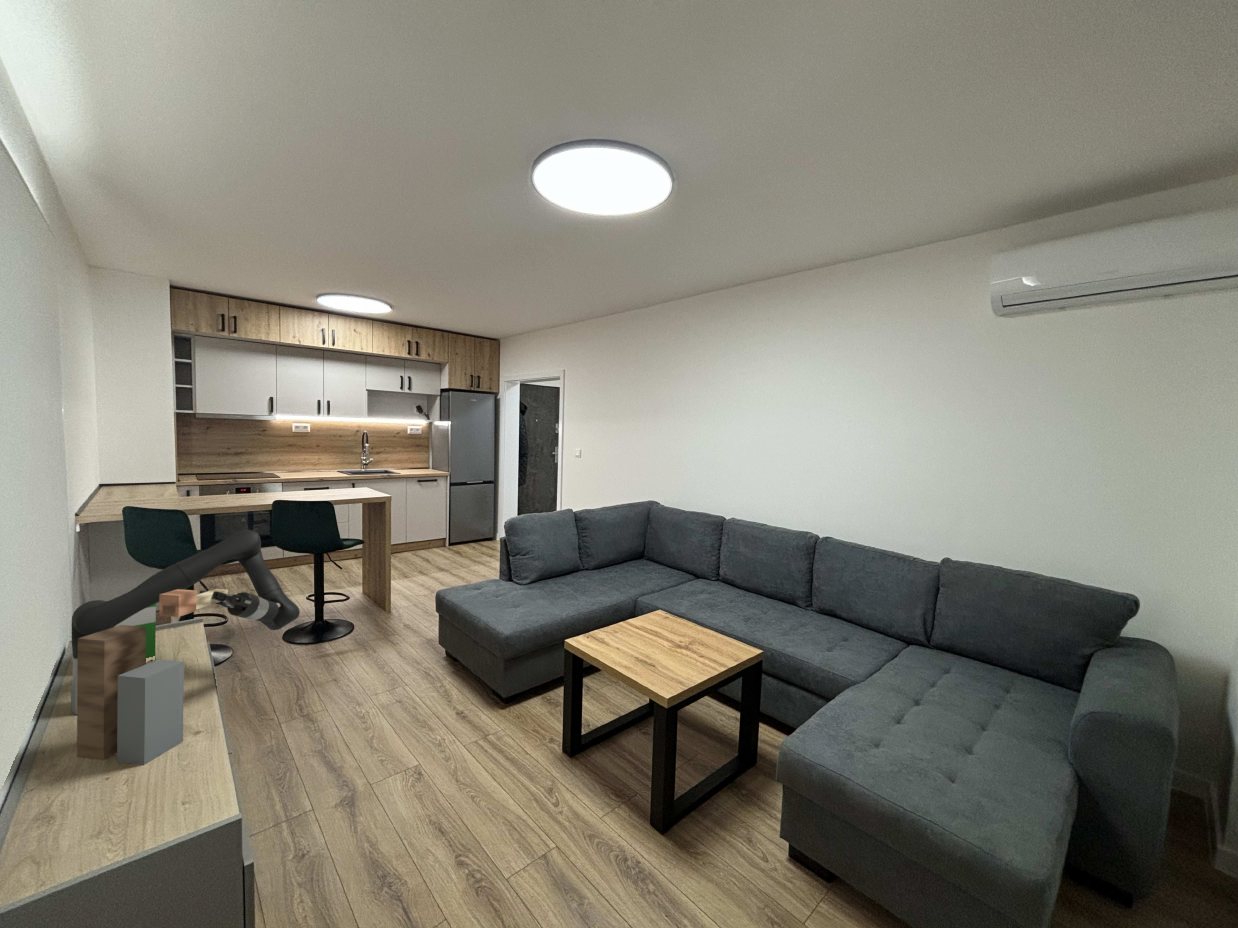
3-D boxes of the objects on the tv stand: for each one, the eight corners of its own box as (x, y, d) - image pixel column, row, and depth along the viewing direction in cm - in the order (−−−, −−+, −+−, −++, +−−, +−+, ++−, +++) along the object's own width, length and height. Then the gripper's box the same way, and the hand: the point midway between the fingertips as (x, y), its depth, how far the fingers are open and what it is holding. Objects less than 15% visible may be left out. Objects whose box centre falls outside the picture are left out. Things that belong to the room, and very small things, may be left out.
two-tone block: (213, 598, 149) (213, 579, 149) (230, 599, 149) (230, 580, 148) (159, 615, 133) (159, 594, 133) (178, 616, 133) (178, 595, 132)
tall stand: (119, 734, 136) (120, 624, 135) (144, 737, 135) (146, 626, 135) (76, 757, 126) (77, 638, 125) (103, 760, 125) (104, 640, 125)
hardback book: (86, 675, 169) (86, 608, 168) (86, 668, 174) (86, 603, 173) (155, 660, 182) (155, 598, 182) (153, 654, 187) (154, 594, 186)
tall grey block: (157, 738, 135) (158, 659, 134) (182, 741, 134) (183, 661, 134) (117, 761, 125) (117, 675, 124) (144, 764, 124) (145, 678, 124)
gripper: (234, 593, 161) (191, 580, 146) (273, 596, 160) (234, 583, 145) (224, 616, 158) (179, 605, 143) (263, 619, 156) (222, 608, 141)
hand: (207, 594), depth 144 cm, fingers closed on two-tone block, 4 cm apart
